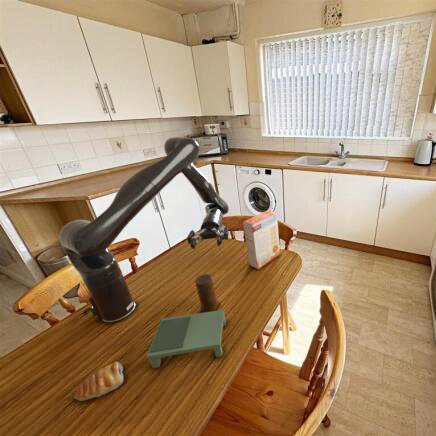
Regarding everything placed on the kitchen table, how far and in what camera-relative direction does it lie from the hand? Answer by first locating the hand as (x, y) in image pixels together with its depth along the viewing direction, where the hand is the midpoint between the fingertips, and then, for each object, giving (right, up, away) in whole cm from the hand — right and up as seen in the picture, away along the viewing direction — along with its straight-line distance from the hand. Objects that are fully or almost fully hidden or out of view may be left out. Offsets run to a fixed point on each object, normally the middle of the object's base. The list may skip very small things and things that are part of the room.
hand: (205, 245), depth 83 cm
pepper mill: (+2, -21, -3) cm, 21 cm away
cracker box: (+18, -9, +22) cm, 30 cm away
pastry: (-16, -32, -24) cm, 43 cm away
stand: (+1, -26, -15) cm, 30 cm away
